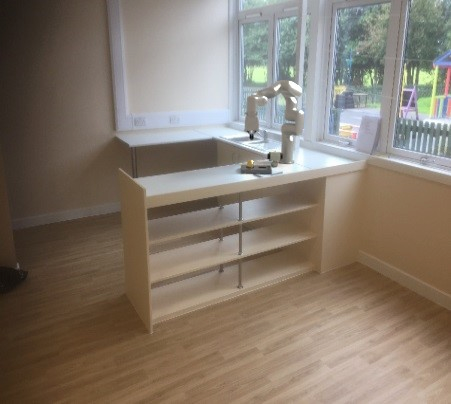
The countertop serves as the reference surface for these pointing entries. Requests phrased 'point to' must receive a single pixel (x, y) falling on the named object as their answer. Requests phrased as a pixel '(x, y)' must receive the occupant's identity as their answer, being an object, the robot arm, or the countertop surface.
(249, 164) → the bushing
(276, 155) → the pneumatic valve
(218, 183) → the countertop surface
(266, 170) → the jig
